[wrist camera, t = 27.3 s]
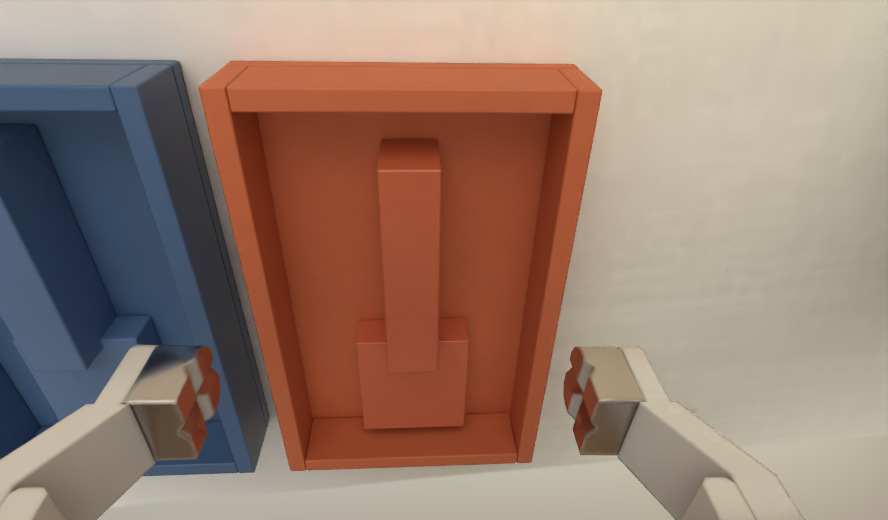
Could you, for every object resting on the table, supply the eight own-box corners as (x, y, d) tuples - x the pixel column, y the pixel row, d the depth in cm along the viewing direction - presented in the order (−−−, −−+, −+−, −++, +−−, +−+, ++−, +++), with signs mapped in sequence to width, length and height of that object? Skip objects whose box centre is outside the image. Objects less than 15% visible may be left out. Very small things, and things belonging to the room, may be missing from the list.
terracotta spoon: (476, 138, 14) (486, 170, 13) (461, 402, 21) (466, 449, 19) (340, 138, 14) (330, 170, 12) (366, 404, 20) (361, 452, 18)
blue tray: (179, 60, 13) (136, 86, 11) (270, 418, 21) (254, 473, 19) (-198, 56, 13) (-316, 82, 11) (39, 425, 21) (-3, 482, 19)
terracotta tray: (574, 63, 14) (603, 89, 12) (520, 411, 22) (531, 463, 20) (229, 60, 13) (196, 86, 11) (301, 417, 21) (290, 471, 19)
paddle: (79, 123, 14) (28, 155, 12) (184, 403, 20) (161, 452, 18) (-72, 122, 13) (-148, 153, 12) (81, 405, 19) (47, 455, 18)
